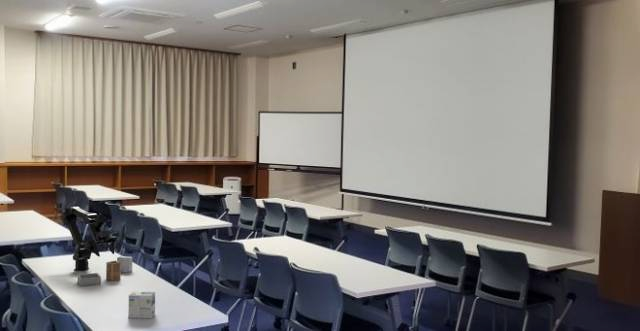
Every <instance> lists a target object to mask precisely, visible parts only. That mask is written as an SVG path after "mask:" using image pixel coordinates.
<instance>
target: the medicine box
mask: <svg viewBox="0 0 640 331" xmlns="http://www.w3.org/2000/svg"><path fill="white" fill-rule="evenodd" d="M116 261H118V262H121V272H122V273H131V272H132V271H133V256H125V255H123V256H122V255H120V256H118V257H117V258H116Z"/></svg>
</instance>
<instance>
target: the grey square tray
mask: <svg viewBox="0 0 640 331" xmlns="http://www.w3.org/2000/svg"><path fill="white" fill-rule="evenodd" d="M77 283H78V285H79V287H88V286H96V285H97V286H98V285H102V276H101V274H99V272H92V273H82V274H81V273H79V274H77Z"/></svg>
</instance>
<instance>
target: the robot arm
mask: <svg viewBox="0 0 640 331" xmlns="http://www.w3.org/2000/svg"><path fill="white" fill-rule="evenodd" d="M78 218H80V219H82V222H84V224H86V225H88V228H87V231H90V233H91V235H92V236H91V238H92V239H88V240H87V241H86V242H85V241H84V239H83V237H82V235H81V231H80V230H79V229H80V228H79V227H78V224H77V221H78ZM60 220H61V221H62V223H63V224H64V225H65V226H66V227H67V228H68V231H69V233H70V235H71V237H72V240H73V243H74V245H75V249H74V254H72V260H73V261H74V262H75V263H74V265H75V266H74V267H75V268H74V269H73V271H77V272H78V271H80V272H84V271H87V270H88V269H90V267H89V260H90V259H91V256H92V253H93V254H94V255H95V256H97V257H99V258H100V257H101V255H100V252H99V250H98V248H97V245H99V246H100V245H104V244H106V245H107V247H108V249H109V251H110V252H111V254H112V255H115V245H116V243H117V242H118V241H119V239H118V236H111V235H113V230H112V229H111V228H109V229H106V230H102V228H103V227H104V226H105V225H106V223H107V222H108V217H107V216H106V215H104V214H103V213H94V212H89V211H86V210H84V209H82V208H81V207H79V206H71V207H70V208H68V209H66V210H65V211H63V212H62V213H61V215H60ZM110 236H111V237H110ZM108 237H109V238H108Z"/></svg>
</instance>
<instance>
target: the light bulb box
mask: <svg viewBox="0 0 640 331" xmlns="http://www.w3.org/2000/svg"><path fill="white" fill-rule="evenodd" d="M127 313H128V316H127V318H128V319H152V318H153V317H154V316H155V315H156V291H132V292H131V293H129V294H128V312H127Z"/></svg>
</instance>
